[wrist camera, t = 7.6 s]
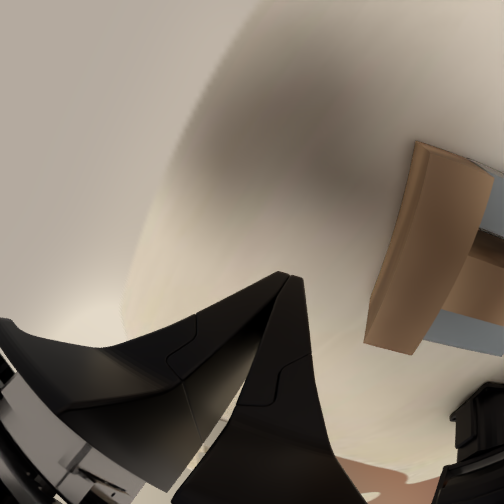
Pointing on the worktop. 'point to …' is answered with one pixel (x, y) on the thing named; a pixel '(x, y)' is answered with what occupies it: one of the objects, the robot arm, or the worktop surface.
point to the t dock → (463, 327)
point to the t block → (437, 254)
